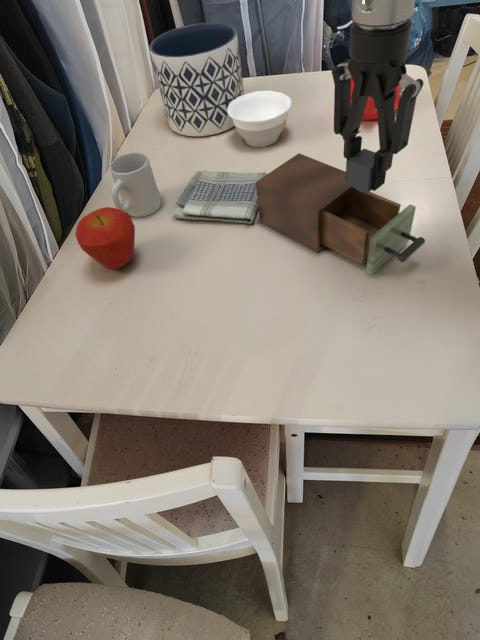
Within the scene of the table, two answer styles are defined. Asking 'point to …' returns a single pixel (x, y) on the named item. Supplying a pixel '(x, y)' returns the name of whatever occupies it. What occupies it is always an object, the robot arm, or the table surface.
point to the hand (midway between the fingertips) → (364, 180)
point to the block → (360, 170)
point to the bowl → (260, 116)
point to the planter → (198, 76)
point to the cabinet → (300, 198)
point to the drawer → (368, 229)
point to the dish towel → (220, 197)
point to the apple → (107, 236)
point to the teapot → (370, 109)
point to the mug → (134, 185)
